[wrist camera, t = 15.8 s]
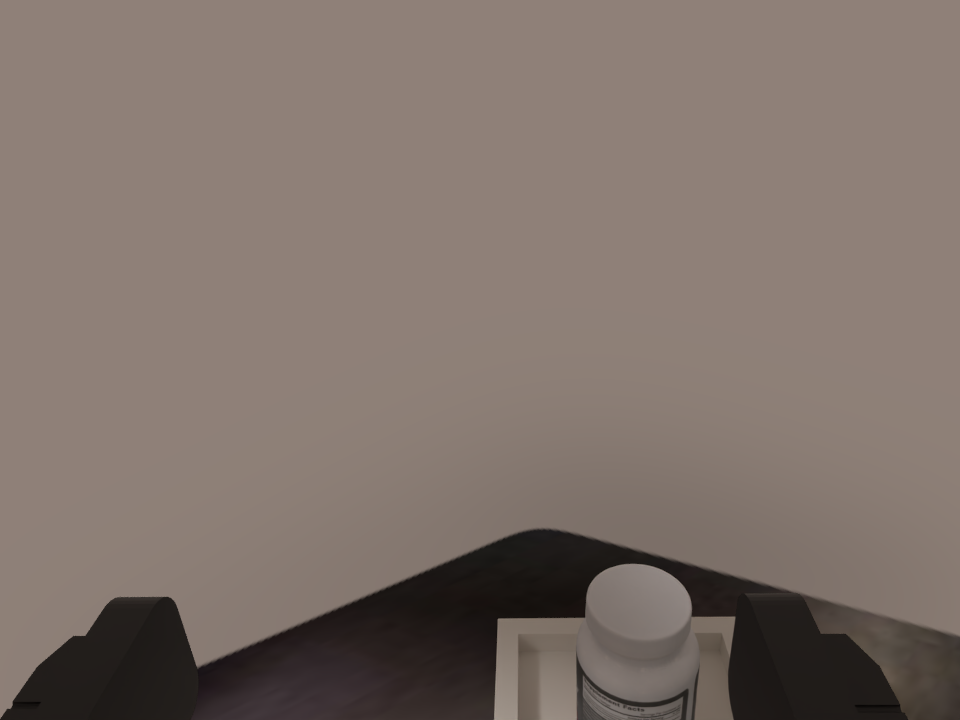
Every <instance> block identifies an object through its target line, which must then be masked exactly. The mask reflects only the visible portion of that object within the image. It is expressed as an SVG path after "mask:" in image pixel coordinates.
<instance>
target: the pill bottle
mask: <svg viewBox="0 0 960 720" xmlns="http://www.w3.org/2000/svg"><path fill="white" fill-rule="evenodd" d="M691 617H692V604H691V600H690V596H689V594H688V592H687V591H686V589H685V588H684V586H683V585H682V584H681V583H680V582H679V581H678V580H677V579H676V578H674V577H673V576H672V575H670V574H669V573H667V572H665V571H663V570H661V569H658V568H655V567H652V566H648V565H642V564H623V565H618V566H614V567H611V568H609V569H607V570H605V571H603V572H601V573H600V574H599V575H597V576H596V577H595V578H594V579H593V581H592V582H591V584H590V586H589V588H588V591H587V597H586V609H585V619H584V620H583V622H582V624H581V626H580V628H579V631H578V635H577V642H576V687H577V720H694V719H695V708H696V697H697V687H698V677H699V667H700V650H699V645H698V641H697V638H696V636H695V634H694V632H693V630H692V628H691Z"/></svg>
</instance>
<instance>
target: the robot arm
mask: <svg viewBox="0 0 960 720" xmlns="http://www.w3.org/2000/svg"><path fill="white" fill-rule="evenodd" d="M198 685H199V680H198V671H197V667H196V664H195V661H194V657H193V654H192V651H191V648H190V645H189V642H188V639H187V636H186V633H185V630H184V627H183V624H182V621H181V618H180V615H179V612H178V609H177V606H176V604H175V602H174V601H173V600H172V599H171V598H169V597H118V598H114V599H113V600H111V601H110V602H109V603H108V604H107V605H106V606H105V608H104V609H103V611H102V612H101V614H100V615H99V617H98V618H97V620H96V621H95V623H94V624H93V626H92V627H91V628H90V630H89V631H88V633H87V634H86V636H73V637H72V638H70V639H69V640H68V641H67V642H66V643H65V644H63V645H62V646H61V647H60V648H59V649H57V650H56V651H55V652H54V653H53V654H52V655H50V657H48V658H47V659H46V660H45V661H43V662H42V663H41V664H40V665H39V666H38V667H37V668H36V670H35V671H34V672H33V674H32V675H31V676H30V678H29V679H28V681H27V682H26V683H25V685H24V686H23V688H22V689H21V691H20V692H19V693H18V695H17V696H16V698H15V699H14V700H13V706H12V708H11V709H7V710H6V712H5V713H4V714H3V716H2V717H1V719H0V720H191V717H192V715H193V712H194V709H195V706H196V701H197V696H198ZM728 690H729V698H730V705H731V710H732V715H733V719H734V720H908V718H907V716H906V715H905V713H902V712H901V709H900V704H899V702H898V700H897V698H896V696H895V694H894V692H893V691H892V689H891V687H890V685H889V683H888V681H887V679H886V678H885V676H884V674H883V672H882V670H881V668H880V666H879V665H878V664H876V663H875V662H874V661H873V660H872V659H871V658H870V657H869V656H868V655H867V654H866V653H865V652H864V651H863V650H862V649H861V648H860V647H859V646H858V645H857V644H856V643H855V642H854V641H853V640H851V639H850V638H849V637H848V636H847V635H846V634H820V631H819V629H818V627H817V625H816V623H815V621H814V619H813V617H812V615H811V612H810V610H809V608H808V606H807V604H806V602H805V600H804V599H803V598H802V596H801V595H800V594H798V593H752V594H741V595H740V596H739V599H738V603H737V609H736V616H735V624H734V631H733V638H732V646H731V653H730V660H729V668H728Z"/></svg>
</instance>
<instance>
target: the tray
mask: <svg viewBox="0 0 960 720" xmlns="http://www.w3.org/2000/svg"><path fill="white" fill-rule="evenodd" d="M584 619H585V618H511V619H498V631H497V658H496V685H495V712H494V720H577V687H576V642H577V635H578V631H579V628H580V626H581V624H582V622H583V620H584ZM734 624H735V617H691V628H692V630H693V632H694V634H695V636H696V638H697V641H698V645H699V650H700V667H699V677H698V687H697V697H696V708H695V719H694V720H734V719H733V715H732V710H731V705H730V698H729V690H728V668H729V660H730V653H731V646H732V638H733V631H734Z"/></svg>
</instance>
